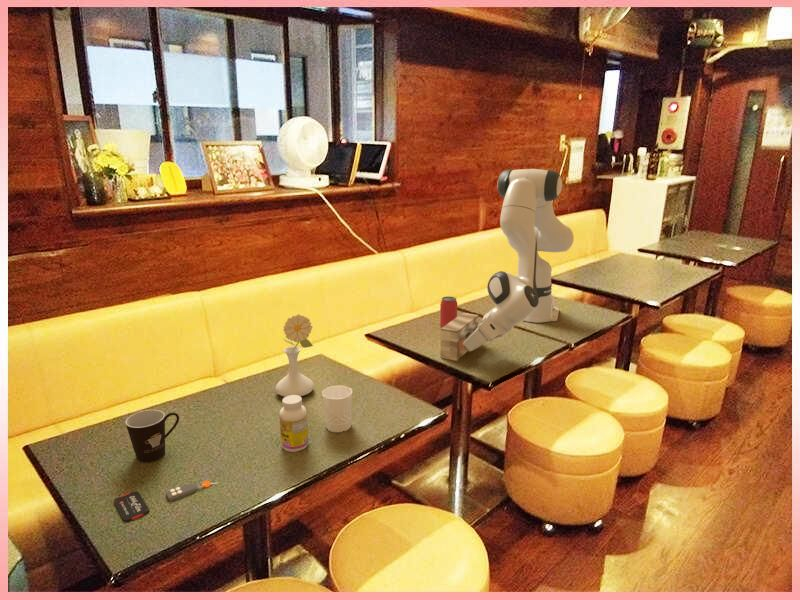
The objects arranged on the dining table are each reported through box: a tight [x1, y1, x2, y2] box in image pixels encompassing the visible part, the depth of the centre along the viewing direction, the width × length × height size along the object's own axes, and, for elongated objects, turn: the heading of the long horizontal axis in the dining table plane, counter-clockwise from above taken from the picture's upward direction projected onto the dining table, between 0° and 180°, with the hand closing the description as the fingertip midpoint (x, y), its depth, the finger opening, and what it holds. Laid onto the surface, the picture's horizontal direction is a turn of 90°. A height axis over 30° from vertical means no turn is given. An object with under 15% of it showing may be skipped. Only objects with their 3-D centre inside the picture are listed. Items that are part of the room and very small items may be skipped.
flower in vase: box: [274, 313, 315, 398], centre depth 163 cm, size 13×11×25 cm
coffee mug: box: [124, 409, 180, 464], centre depth 135 cm, size 12×9×10 cm
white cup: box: [321, 384, 353, 433], centre depth 147 cm, size 8×8×10 cm
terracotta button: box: [458, 339, 466, 351], centre depth 190 cm, size 3×3×3 cm
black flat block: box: [113, 491, 150, 523], centre depth 117 cm, size 10×1×5 cm
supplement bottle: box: [278, 395, 309, 453], centre depth 138 cm, size 7×7×13 cm
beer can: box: [439, 296, 458, 329], centre depth 218 cm, size 7×7×12 cm
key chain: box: [165, 480, 220, 502], centre depth 123 cm, size 13×4×2 cm, turn 125°
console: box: [440, 312, 479, 362], centre depth 197 cm, size 19×6×11 cm, turn 151°
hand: (467, 346), depth 189 cm, fingers closed, pressing on terracotta button
